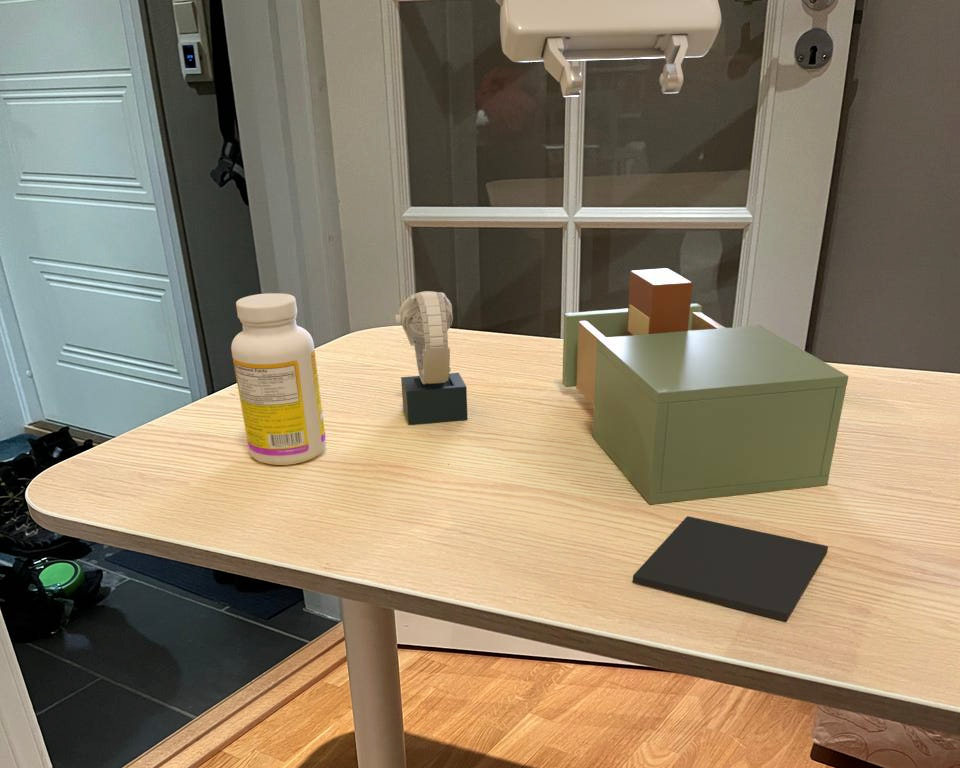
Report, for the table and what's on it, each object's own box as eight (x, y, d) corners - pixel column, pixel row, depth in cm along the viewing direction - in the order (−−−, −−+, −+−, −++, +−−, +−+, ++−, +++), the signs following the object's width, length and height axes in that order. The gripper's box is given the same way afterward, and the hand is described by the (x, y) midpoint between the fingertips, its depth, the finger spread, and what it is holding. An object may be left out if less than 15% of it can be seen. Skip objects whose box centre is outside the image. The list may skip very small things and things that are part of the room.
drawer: (551, 371, 96) (552, 302, 92) (675, 360, 98) (681, 293, 94) (603, 431, 81) (607, 352, 77) (748, 417, 83) (758, 340, 79)
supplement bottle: (288, 433, 85) (267, 286, 78) (342, 448, 82) (326, 295, 75) (233, 457, 80) (205, 303, 73) (288, 473, 77) (264, 314, 70)
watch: (456, 398, 92) (452, 281, 86) (470, 426, 85) (467, 301, 79) (400, 402, 91) (391, 285, 85) (409, 431, 85) (401, 306, 79)
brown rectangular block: (623, 380, 89) (629, 270, 84) (658, 377, 90) (667, 267, 84) (644, 401, 84) (653, 285, 79) (682, 397, 85) (693, 282, 79)
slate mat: (827, 553, 63) (828, 545, 63) (786, 622, 56) (788, 613, 56) (686, 523, 68) (687, 515, 68) (632, 583, 61) (632, 575, 60)
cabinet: (592, 436, 83) (596, 338, 78) (746, 421, 85) (760, 325, 80) (649, 504, 71) (658, 393, 66) (827, 485, 73) (849, 375, 68)
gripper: (491, -70, 82) (517, 64, 79) (710, -71, 85) (742, 58, 83) (482, -7, 88) (505, 120, 85) (686, -10, 91) (715, 112, 89)
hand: (623, 89), depth 84 cm, fingers open, 8 cm apart
